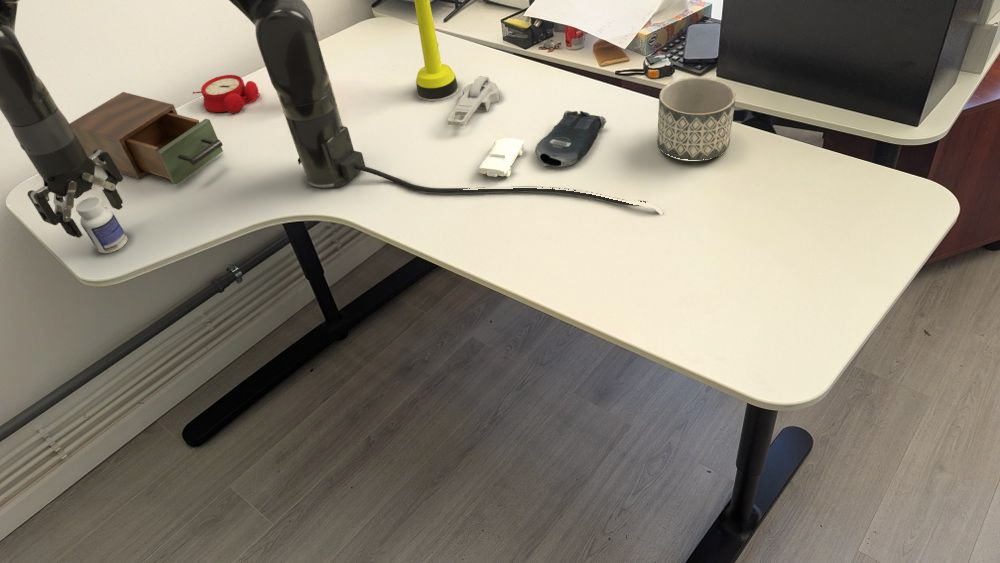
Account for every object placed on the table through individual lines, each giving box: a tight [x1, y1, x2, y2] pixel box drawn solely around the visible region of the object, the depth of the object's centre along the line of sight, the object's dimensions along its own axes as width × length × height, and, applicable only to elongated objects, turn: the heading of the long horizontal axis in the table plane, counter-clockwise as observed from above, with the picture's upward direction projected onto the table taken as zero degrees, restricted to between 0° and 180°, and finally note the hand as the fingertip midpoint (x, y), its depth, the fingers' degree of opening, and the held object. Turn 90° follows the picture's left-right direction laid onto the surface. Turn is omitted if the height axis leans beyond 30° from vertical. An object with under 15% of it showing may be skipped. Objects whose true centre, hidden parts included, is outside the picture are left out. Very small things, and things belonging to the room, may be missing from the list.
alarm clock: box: [192, 74, 261, 114], centre depth 161 cm, size 10×6×15 cm
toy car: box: [477, 137, 525, 178], centre depth 133 cm, size 6×12×3 cm, turn 160°
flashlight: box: [413, 0, 459, 102], centre depth 148 cm, size 25×9×9 cm
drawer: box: [124, 112, 224, 186], centre depth 141 cm, size 19×12×7 cm, turn 60°
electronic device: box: [535, 110, 607, 168], centre depth 134 cm, size 9×6×15 cm
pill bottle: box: [75, 197, 128, 254], centre depth 125 cm, size 5×5×9 cm
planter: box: [656, 76, 737, 160], centre depth 128 cm, size 13×13×10 cm
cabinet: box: [69, 91, 179, 180], centre depth 147 cm, size 16×14×9 cm
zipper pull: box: [447, 76, 500, 127], centre depth 147 cm, size 8×18×4 cm, turn 161°
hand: (98, 221), depth 124 cm, fingers open, 8 cm apart
